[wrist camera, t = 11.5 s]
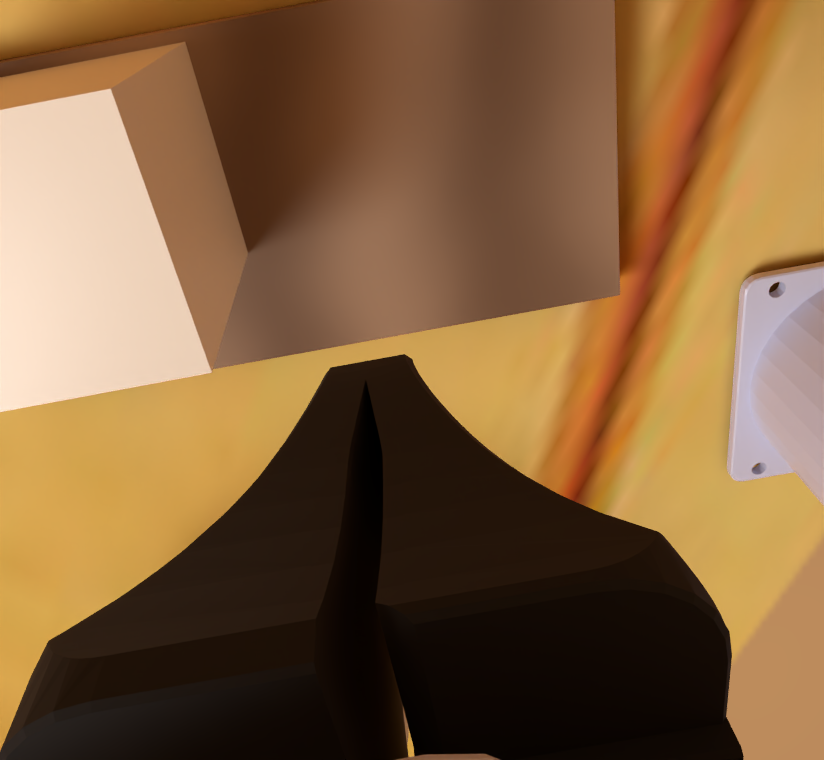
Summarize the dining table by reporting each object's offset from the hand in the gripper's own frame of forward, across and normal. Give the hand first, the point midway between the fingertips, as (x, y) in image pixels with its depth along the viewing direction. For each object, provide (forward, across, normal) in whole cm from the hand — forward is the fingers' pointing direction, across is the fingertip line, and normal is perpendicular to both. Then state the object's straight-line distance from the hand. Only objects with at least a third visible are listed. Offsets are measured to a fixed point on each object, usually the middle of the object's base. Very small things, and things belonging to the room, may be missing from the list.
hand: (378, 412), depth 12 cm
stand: (+10, +2, -1) cm, 11 cm away
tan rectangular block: (+9, +6, -2) cm, 11 cm away
